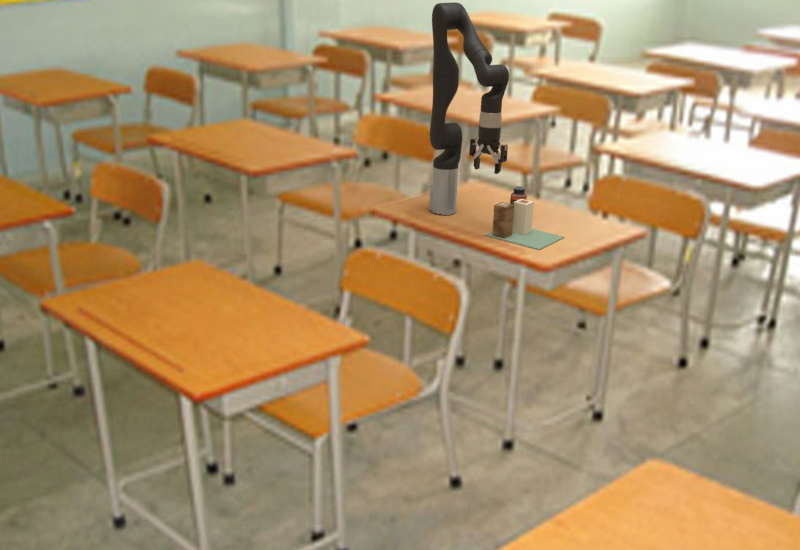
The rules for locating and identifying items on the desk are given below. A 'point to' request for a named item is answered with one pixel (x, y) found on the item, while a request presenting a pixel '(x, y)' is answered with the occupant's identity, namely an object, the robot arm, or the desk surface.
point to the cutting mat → (531, 239)
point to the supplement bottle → (518, 194)
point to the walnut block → (503, 220)
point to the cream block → (523, 216)
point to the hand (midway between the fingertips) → (486, 171)
